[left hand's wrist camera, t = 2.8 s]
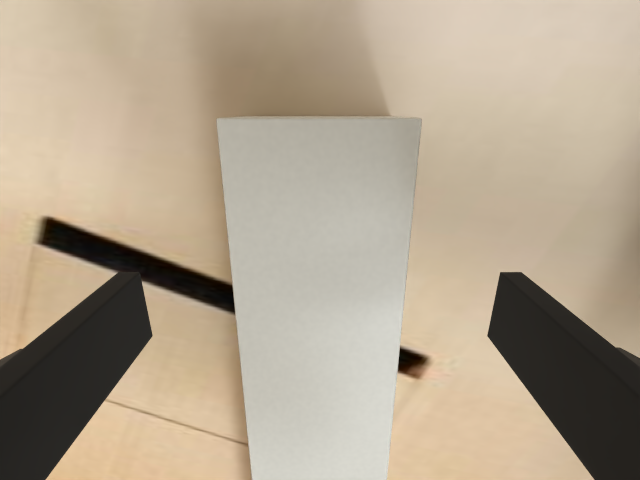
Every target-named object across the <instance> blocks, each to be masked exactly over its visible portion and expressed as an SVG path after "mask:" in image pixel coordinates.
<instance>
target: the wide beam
mask: <svg viewBox="0 0 640 480" xmlns="http://www.w3.org/2000/svg"><path fill="white" fill-rule="evenodd" d="M216 123H217V133H218V143H219V153H220V163H221V173H222V183H223V193H224V203H225V213H226V223H227V233H228V244H229V254H230V264H231V274H232V284H233V294H234V304H235V314H236V324H237V334H238V344H239V354H240V364H241V375H242V385H243V395H244V405H245V415H246V425H247V435H248V445H249V455H250V465H251V475H252V480H387V473H388V462H389V452H390V442H391V431H392V421H393V411H394V401H395V390H396V380H397V370H398V360H399V349H400V339H401V329H402V318H403V308H404V298H405V288H406V277H407V267H408V257H409V247H410V236H411V226H412V216H413V205H414V195H415V185H416V175H417V164H418V154H419V144H420V134H421V123H422V119H421V118H412V117H397V116H241V117H226V118H217V120H216Z"/></svg>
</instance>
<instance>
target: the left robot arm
mask: <svg viewBox="0 0 640 480" xmlns="http://www.w3.org/2000/svg"><path fill="white" fill-rule="evenodd" d="M151 337H152V331H151V326H150V321H149V316H148V311H147V306H146V301H145V296H144V291H143V286H142V281H141V276H140V272H118V273H117V274H116V275H115V276H113V277H112V278H111V279H110V280H108V281H107V282H106V283H105V284H103V285H102V286H101V287H100V288H98V289H97V290H96V291H95V292H93V293H92V294H91V295H90V296H88V297H87V298H86V299H85V300H83V301H82V302H81V303H80V304H78V305H77V306H76V307H75V308H73V309H72V310H71V311H70V312H68V313H67V314H66V315H65V316H63V317H62V318H61V319H60V320H58V321H57V322H56V323H55V324H53V325H52V326H51V327H50V328H48V329H47V330H46V331H45V332H43V333H42V334H41V335H40V336H38V337H37V338H36V339H35V340H33V341H32V342H31V343H30V344H28V345H27V346H26V347H25V348H23V349H19V350H18V351H16V352H14V353H12V354H10V355H8V356H6V357H4V358H3V359H1V360H0V480H46V478H47V477H48V476H49V474H50V473H51V471H52V470H53V469H54V467H55V466H56V465H57V463H58V462H59V461H60V459H61V458H62V457H63V455H64V454H65V453H66V451H67V450H68V449H69V447H70V446H71V445H72V443H73V442H74V441H75V439H76V438H77V437H78V435H79V434H80V433H81V431H82V430H83V429H84V427H85V426H86V425H87V423H88V422H89V421H90V419H91V418H92V416H93V415H94V414H95V412H96V411H97V410H98V408H99V407H100V406H101V404H102V403H103V402H104V400H105V399H106V398H107V396H108V395H109V394H110V392H111V391H112V390H113V388H114V387H115V386H116V384H117V383H118V382H119V380H120V379H121V378H122V376H123V375H124V374H125V372H126V371H127V370H128V368H129V367H130V365H131V364H132V363H133V361H134V360H135V359H136V357H137V356H138V355H139V353H140V352H141V351H142V349H143V348H144V347H145V345H146V344H147V343H148V341H149V340H150V339H151ZM488 337H489V339H490V340H491V341H492V343H493V344H494V345H495V347H496V348H497V349H498V351H499V352H500V353H501V355H502V356H503V357H504V359H505V360H506V361H507V363H508V364H509V365H510V367H511V368H512V370H513V371H514V372H515V374H516V375H517V376H518V378H519V379H520V380H521V382H522V383H523V384H524V386H525V387H526V388H527V390H528V391H529V392H530V394H531V395H532V396H533V398H534V399H535V400H536V402H537V403H538V404H539V406H540V407H541V408H542V410H543V411H544V412H545V414H546V415H547V416H548V418H549V419H550V421H551V422H552V423H553V425H554V426H555V427H556V429H557V430H558V431H559V433H560V434H561V435H562V437H563V438H564V439H565V441H566V442H567V443H568V445H569V446H570V447H571V449H572V450H573V451H574V453H575V454H576V455H577V457H578V458H579V459H580V461H581V462H582V463H583V465H584V466H585V467H586V469H587V470H588V471H589V473H590V474H591V476H592V477H593V478H594V480H640V358H638V357H637V356H635V355H633V354H631V353H629V352H627V351H625V350H623V349H621V348H615V347H614V346H613V345H612V344H610V343H609V342H608V341H607V340H605V339H604V338H603V337H602V336H600V335H599V334H598V333H597V332H595V331H594V330H593V329H592V328H590V327H589V326H588V325H587V324H585V323H584V322H583V321H582V320H580V319H579V318H578V317H577V316H575V315H574V314H573V313H572V312H570V311H569V310H568V309H567V308H565V307H564V306H563V305H562V304H560V303H559V302H558V301H557V300H555V299H554V298H553V297H552V296H550V295H549V294H548V293H547V292H545V291H544V290H543V289H542V288H540V287H539V286H538V285H537V284H535V283H534V282H533V281H532V280H530V279H529V278H528V277H527V276H525V275H524V274H523V273H522V272H500V276H499V281H498V286H497V291H496V296H495V301H494V306H493V311H492V316H491V321H490V326H489V331H488Z"/></svg>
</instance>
